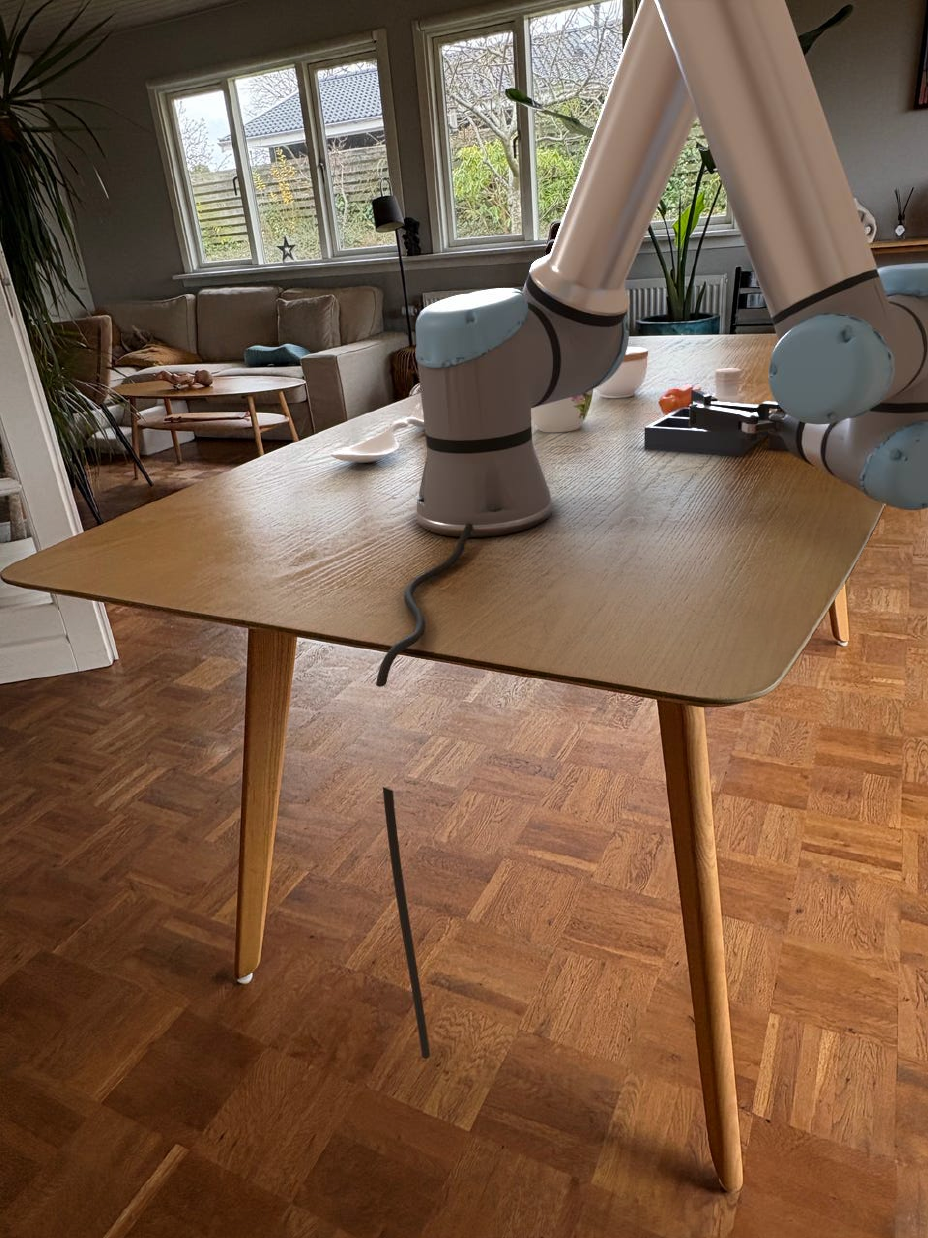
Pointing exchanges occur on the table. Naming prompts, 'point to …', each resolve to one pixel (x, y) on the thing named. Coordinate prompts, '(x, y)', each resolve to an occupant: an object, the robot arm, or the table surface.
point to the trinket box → (626, 375)
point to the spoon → (379, 441)
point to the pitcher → (562, 413)
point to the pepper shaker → (728, 386)
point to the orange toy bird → (676, 398)
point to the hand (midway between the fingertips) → (747, 395)
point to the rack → (693, 437)
